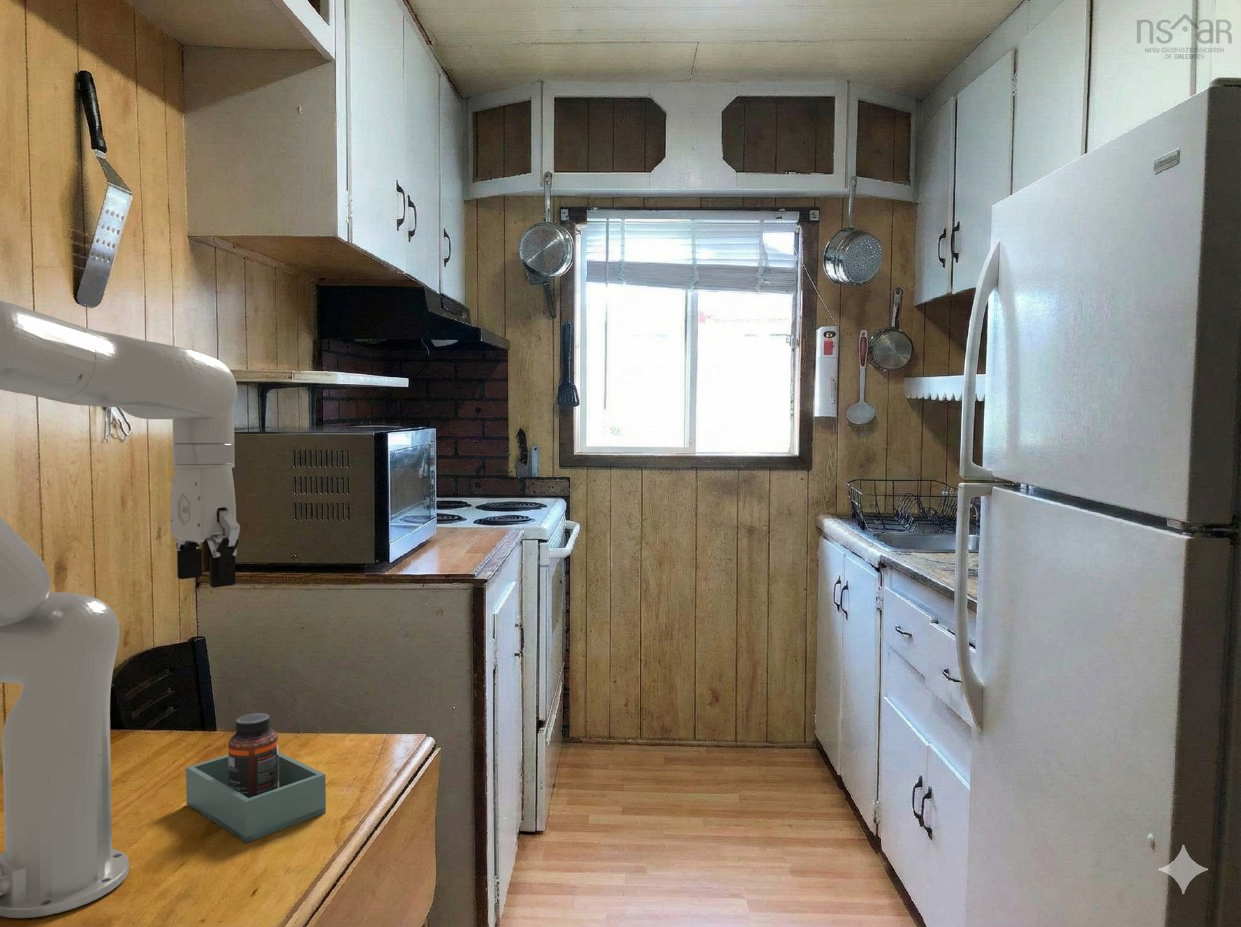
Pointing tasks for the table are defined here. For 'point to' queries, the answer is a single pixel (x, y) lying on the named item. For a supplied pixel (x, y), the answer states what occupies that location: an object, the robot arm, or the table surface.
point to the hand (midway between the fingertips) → (206, 581)
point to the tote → (256, 798)
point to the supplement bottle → (253, 756)
